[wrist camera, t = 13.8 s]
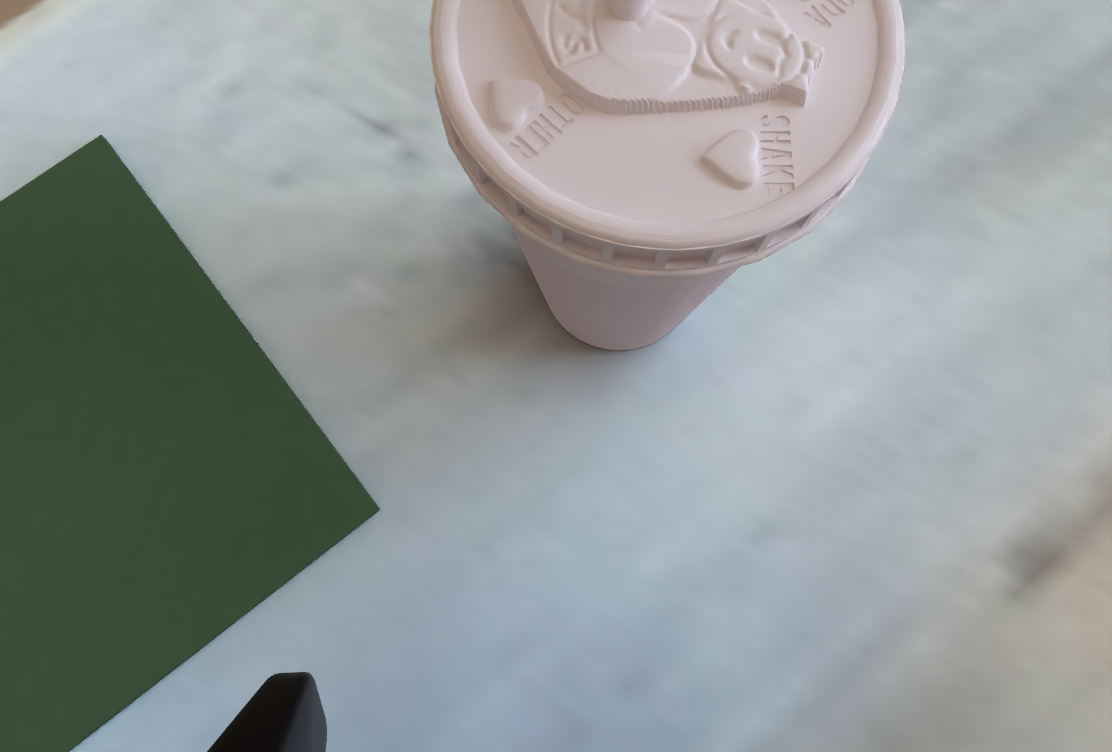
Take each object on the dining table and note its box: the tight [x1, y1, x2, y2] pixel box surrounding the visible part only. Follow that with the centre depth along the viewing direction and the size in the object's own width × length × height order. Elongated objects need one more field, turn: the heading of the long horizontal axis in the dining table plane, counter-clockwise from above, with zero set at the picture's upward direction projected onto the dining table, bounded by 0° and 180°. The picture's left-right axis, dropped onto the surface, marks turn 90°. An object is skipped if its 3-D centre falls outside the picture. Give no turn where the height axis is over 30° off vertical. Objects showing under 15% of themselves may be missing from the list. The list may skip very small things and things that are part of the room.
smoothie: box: [430, 0, 906, 350], centre depth 14 cm, size 6×6×14 cm
